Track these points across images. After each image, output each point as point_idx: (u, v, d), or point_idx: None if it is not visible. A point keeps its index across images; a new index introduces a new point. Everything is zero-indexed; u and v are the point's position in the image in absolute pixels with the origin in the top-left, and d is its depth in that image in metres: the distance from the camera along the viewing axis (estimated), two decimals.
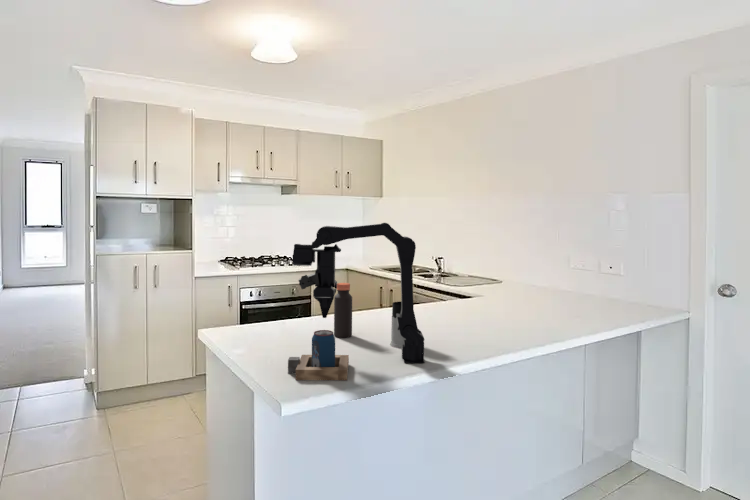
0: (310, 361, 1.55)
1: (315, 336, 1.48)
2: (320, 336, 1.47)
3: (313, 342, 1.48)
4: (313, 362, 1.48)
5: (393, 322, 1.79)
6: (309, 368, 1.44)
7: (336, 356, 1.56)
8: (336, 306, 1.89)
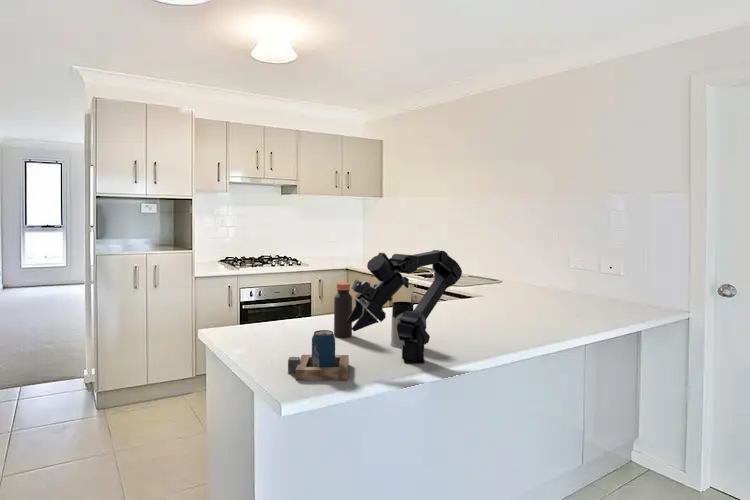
0: (310, 361, 1.55)
1: (315, 336, 1.48)
2: (320, 336, 1.47)
3: (313, 342, 1.48)
4: (313, 362, 1.48)
5: (393, 322, 1.79)
6: (309, 368, 1.44)
7: (336, 356, 1.56)
8: (336, 306, 1.89)
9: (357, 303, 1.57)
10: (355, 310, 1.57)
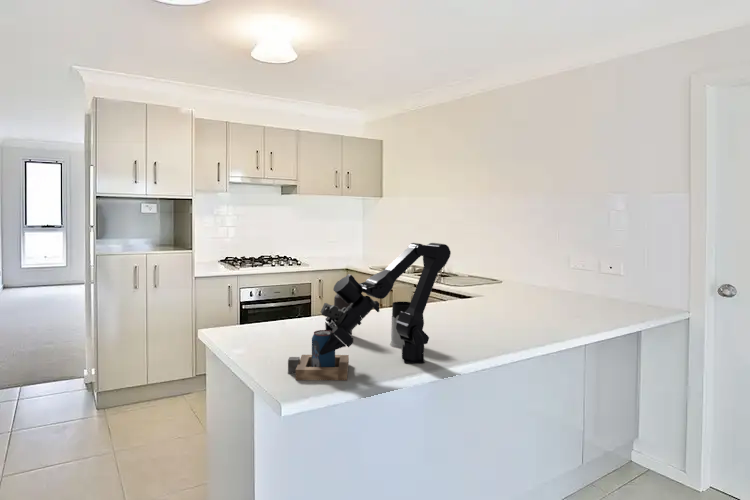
0: (310, 361, 1.55)
1: (315, 336, 1.48)
2: (320, 336, 1.47)
3: (313, 342, 1.48)
4: (313, 362, 1.48)
5: (393, 322, 1.79)
6: (309, 368, 1.44)
7: (336, 356, 1.56)
8: (336, 306, 1.89)
9: (327, 327, 1.54)
10: None
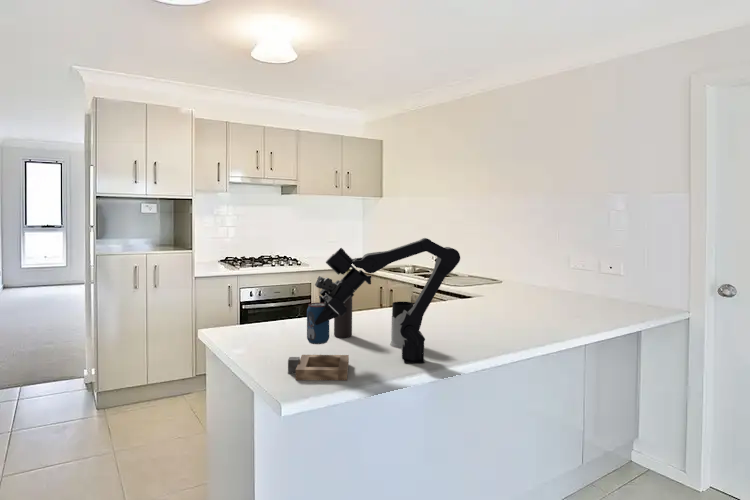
0: (310, 361, 1.55)
1: (310, 307, 1.56)
2: (315, 307, 1.55)
3: (308, 313, 1.56)
4: (308, 332, 1.56)
5: (393, 322, 1.79)
6: (309, 368, 1.44)
7: (336, 356, 1.56)
8: None
9: (321, 300, 1.62)
10: None
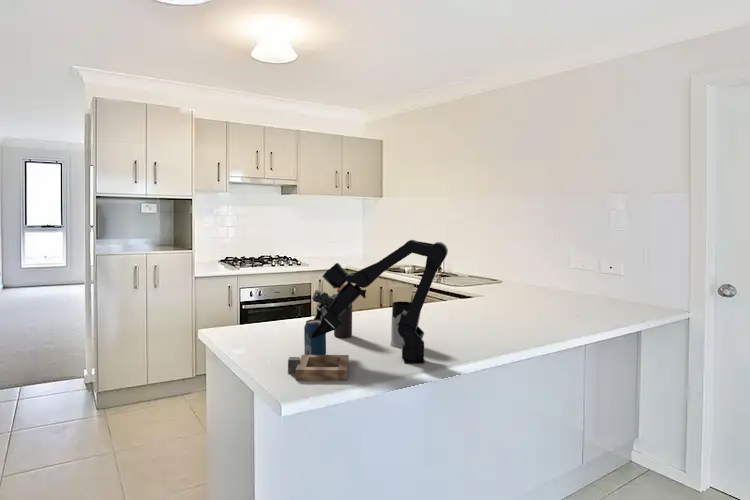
0: (310, 361, 1.55)
1: (307, 325, 1.62)
2: (311, 325, 1.61)
3: (305, 330, 1.62)
4: (306, 348, 1.62)
5: (393, 322, 1.79)
6: (309, 368, 1.44)
7: (336, 356, 1.56)
8: None
9: (318, 312, 1.69)
10: (316, 318, 1.69)
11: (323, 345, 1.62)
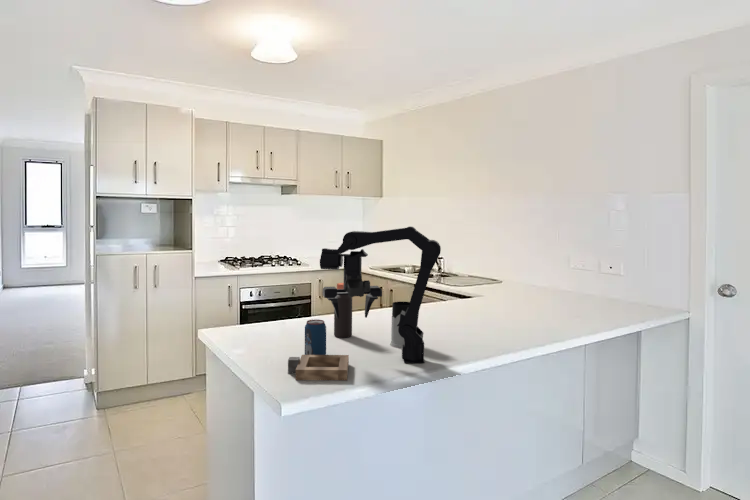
0: (310, 361, 1.55)
1: (308, 325, 1.62)
2: (312, 325, 1.61)
3: (306, 330, 1.62)
4: (306, 348, 1.62)
5: (393, 322, 1.79)
6: (309, 368, 1.44)
7: (336, 356, 1.56)
8: None
9: (337, 300, 1.61)
10: None
11: (323, 345, 1.62)
